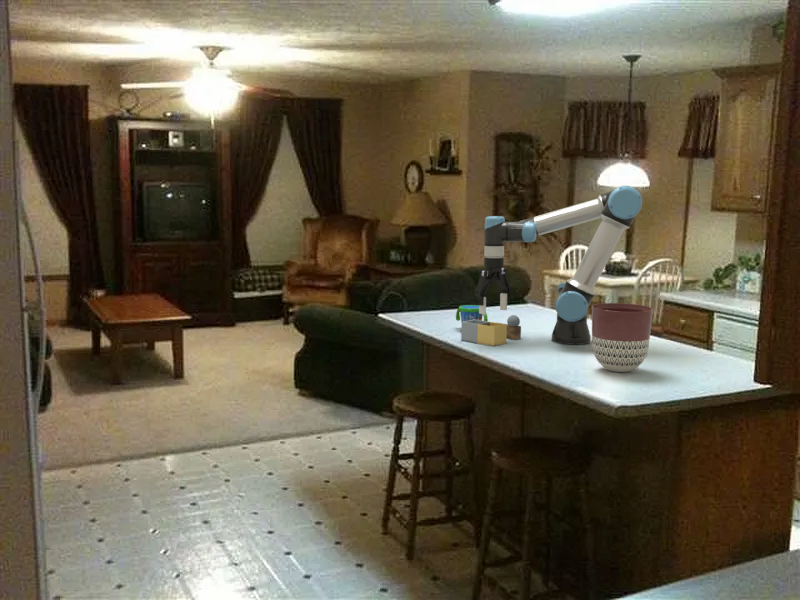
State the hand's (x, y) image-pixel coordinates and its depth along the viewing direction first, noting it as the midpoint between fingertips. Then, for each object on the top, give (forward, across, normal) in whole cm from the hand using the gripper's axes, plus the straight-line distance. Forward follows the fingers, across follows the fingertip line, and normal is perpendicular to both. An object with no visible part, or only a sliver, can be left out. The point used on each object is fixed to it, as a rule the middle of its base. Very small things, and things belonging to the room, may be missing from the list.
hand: (493, 312), depth 319 cm
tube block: (+12, 0, -4) cm, 13 cm away
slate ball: (+8, -14, 0) cm, 16 cm away
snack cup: (+12, -16, -23) cm, 31 cm away
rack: (+12, -14, -4) cm, 19 cm away
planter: (+13, +8, +58) cm, 60 cm away
